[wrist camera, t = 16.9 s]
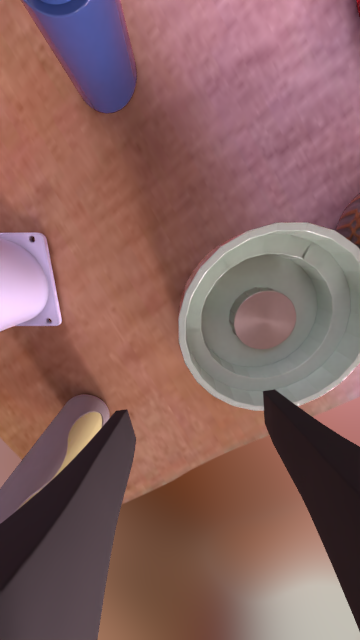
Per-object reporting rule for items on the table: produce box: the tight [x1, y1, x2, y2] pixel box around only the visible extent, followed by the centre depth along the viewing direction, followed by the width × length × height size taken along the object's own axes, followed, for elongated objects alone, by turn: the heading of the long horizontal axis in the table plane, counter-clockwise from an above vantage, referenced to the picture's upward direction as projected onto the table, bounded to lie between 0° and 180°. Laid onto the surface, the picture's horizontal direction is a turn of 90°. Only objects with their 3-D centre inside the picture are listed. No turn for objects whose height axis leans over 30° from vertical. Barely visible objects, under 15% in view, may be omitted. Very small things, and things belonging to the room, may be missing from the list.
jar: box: [21, 0, 137, 113], centre depth 10 cm, size 4×4×8 cm
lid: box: [229, 287, 296, 349], centre depth 17 cm, size 5×5×2 cm
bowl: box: [179, 222, 360, 411], centre depth 16 cm, size 14×14×4 cm
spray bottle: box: [0, 394, 110, 524], centre depth 12 cm, size 5×5×20 cm
